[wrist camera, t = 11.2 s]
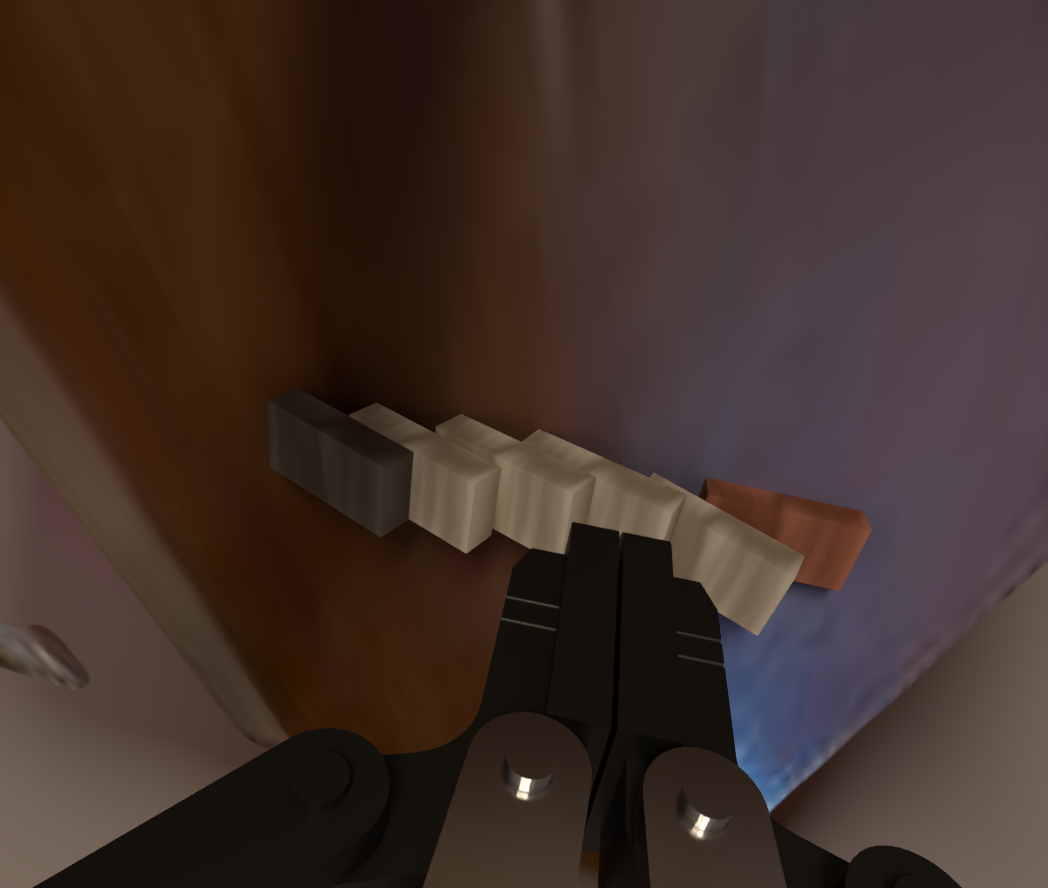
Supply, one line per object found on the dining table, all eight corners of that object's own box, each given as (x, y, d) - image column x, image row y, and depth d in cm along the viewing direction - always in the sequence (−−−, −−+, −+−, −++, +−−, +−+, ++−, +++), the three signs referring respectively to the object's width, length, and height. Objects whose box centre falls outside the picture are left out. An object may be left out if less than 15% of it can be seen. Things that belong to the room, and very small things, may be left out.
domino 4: (507, 509, 47) (650, 580, 43) (519, 443, 44) (672, 513, 40) (525, 493, 48) (664, 560, 45) (538, 429, 46) (687, 494, 42)
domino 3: (431, 494, 47) (560, 565, 42) (435, 426, 44) (573, 493, 40) (455, 480, 48) (582, 546, 44) (461, 413, 46) (596, 477, 41)
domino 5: (612, 548, 47) (757, 635, 43) (639, 489, 44) (795, 577, 41) (627, 531, 48) (767, 613, 45) (654, 472, 46) (805, 556, 43)
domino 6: (685, 556, 47) (839, 591, 47) (708, 494, 44) (871, 530, 44) (683, 534, 49) (831, 566, 49) (705, 473, 46) (861, 507, 46)
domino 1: (269, 467, 48) (380, 537, 43) (266, 399, 45) (384, 467, 41) (299, 453, 49) (408, 520, 45) (298, 388, 47) (413, 451, 42)
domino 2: (347, 481, 47) (466, 553, 43) (348, 414, 45) (475, 484, 40) (374, 467, 49) (491, 535, 45) (376, 402, 46) (501, 467, 42)
